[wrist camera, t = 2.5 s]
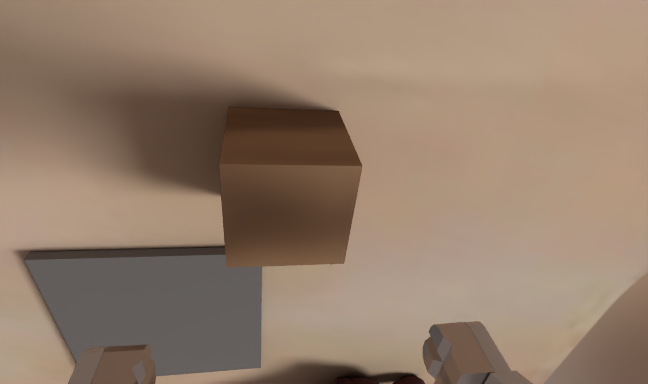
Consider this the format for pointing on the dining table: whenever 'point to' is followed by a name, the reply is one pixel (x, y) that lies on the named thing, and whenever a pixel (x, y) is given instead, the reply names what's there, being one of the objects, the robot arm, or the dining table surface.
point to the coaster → (156, 304)
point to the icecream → (365, 383)
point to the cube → (287, 187)
